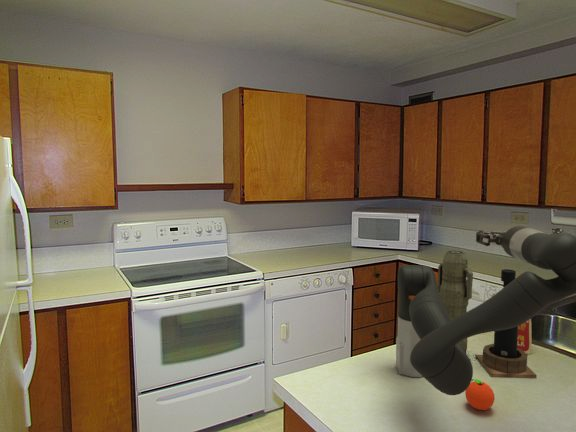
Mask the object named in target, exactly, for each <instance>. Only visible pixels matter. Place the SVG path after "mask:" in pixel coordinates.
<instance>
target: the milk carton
mask: <svg viewBox="0 0 576 432" xmlns="http://www.w3.org/2000/svg"><path fill="white" fill-rule="evenodd" d="M517 348H518V349H521V350H523V351H524V352H525V353H526V354H527V355H531V354H532V318H531V319H530V320H528V321H527V322H525V323H523V324H521V325H519V326H518V338H517Z"/></svg>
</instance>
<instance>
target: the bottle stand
mask: <svg viewBox="0 0 576 432" xmlns="http://www.w3.org/2000/svg"><path fill="white" fill-rule="evenodd" d="M474 356H475V357H474V358H475V359H476V361H478V363H479V364H480V365H481V367H483V368H484V370H485V371H486V373H487V374H488V375H489V376H490V377H491V378H517V379H522V378H524V379H537V378H538V377H537V375H538V374H536V373H535V372H534V371H533V370H532V369H531V368H530V366H528V354H526V353H525V352H524V351H523V350H521V349H518V348H517V358H516V359H513V358H503V357H499V356H496V355H494V343H491V344H486V345H484V346H483V349H482V354H475V355H474Z"/></svg>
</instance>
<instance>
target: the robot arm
mask: <svg viewBox="0 0 576 432" xmlns="http://www.w3.org/2000/svg"><path fill="white" fill-rule="evenodd" d="M475 237H476V238H475V242H476V243H478V244H480V245H483V246H485V247H490V246H491V245H492V246H496V247H501V248H502V249H503V251H504V252H505V253H506V254H507V255H509V257H512V258H513V259H516V260H517V261H520V262H522V263H525V264H529V265H533V266H535V267H537V268H539V269H543V270H548V271H549V270H551V271H552V272H553V273H554V274H556V275H557V276H556V277H554V278H549V279H545V278H543V277H541V276H539V275H538V274H536V273H535V272H532V271H528V270H527V271H525V272H523V273H521V274H519V275H518V276H517V277H515V279H514V280H513V281H512V282H510V283H509V284H508V285H507V286H505V287H503V289H502V288H501V290H499V291H498V292H496V293H495V294H494V295H492V296H491V297H490V298H488V299H487V300H485V301H483V302H482V303H480V304H478V305H477V306H476V307H474V308H472V309H470V310H468V311H467V312H466V313H464V314H462V315H460V316H459V317H457V318H455V319H453V320H450V318H449V314H448V312H447V309H446V306H445V304H444V302H443V300H442V298H441V296H440V293H439V290H438V280H437V277H436V274H435V271H434V269H432V267H430V266H429V265H423V264H422V265H419V264H418V265H416V264H410V265H409V264H401V265H400V266H399V268H398V270H397V292H398V294H397V296H398V299H397V300H398V303H397V304H398V306H397V309H398V310H397V336H396V337H395V340H396V341H395V343H396V344H395V367H396V371H397V373H398V374H399V375H403V376H406V377H409V378H410V377H411V378H424V380H426V381H427V382H428V383H430V385H431V386H433V387H434V388H435V389H436V390H438V391H439V392H441V393H442V394H445V395H447V396H457V395H461V394H463V393H465V391H466V389H467V388H468V387H469V385H470V383H471V382H472V379H473V376H474V375H473V373H474V368H473V364H472V361H471V359H470V357H469V356H468V354H467V352H466V353H465V351H464V349H463V348H462V346H461V345H460V343H459V342H460V341H462V340H464V339H466V338H467V339H468V338H470V337H474V336H477V335H480V334H486V333H493V332H494V331H500V330H506V329H510V328H514V327H517V326H519V325H521V324H523V323H525V322H527V321H528V320H530V319H531V320H532V318H534V317H535V316H536V315H538V314H539V313H541V311H543V310H544V309H546V308H547V307H549V306H550V305H552V304H555V303H557V302H559V301H561V300H563V299H566V298H568V297H571V296H574V295H576V236H575V235H573V234H571V233H568V232H564V231H563V232H559V233H553V234H548V233H545V232H543V231H541V230H538V229H535V228H531V227H528V226H527V227H526V226H523V225H517V226H512V227H510V228H509V229H507V231H498V230H493V231H490V232H489V231H485V230H483V229H481V230H480V229H479V231H477V232H476V235H475ZM411 296H413V297H412V299H411V298H410V297H411Z"/></svg>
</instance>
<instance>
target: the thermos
mask: <svg viewBox="0 0 576 432" xmlns="http://www.w3.org/2000/svg"><path fill="white" fill-rule="evenodd" d="M468 265H469V262H468V257H467V254H466V253H465V252H463V251H462V250H448V251H446V252H445V254H444V256H443V260H442V263H440V264H439V265H438V267H437V269H438V270H437V286H438V290H439V293H440V296H441V298H442V300H443V302H444V304H445V306H446V309H447V312H448V314H449V318H450V320H453V319H455V318H457V317H459V316H460V315H462V314H464V313H466V312H468V311H467V307H468V306H469V300H470V299H472V298H473V278H474V272H473V270H472V269H471V268H470V267H468ZM459 343H460V345H461V346H462V348H463V349H464V351H465V353H466V354H467V349H468V338H466V339H464V340H462V341H460V342H459Z"/></svg>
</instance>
